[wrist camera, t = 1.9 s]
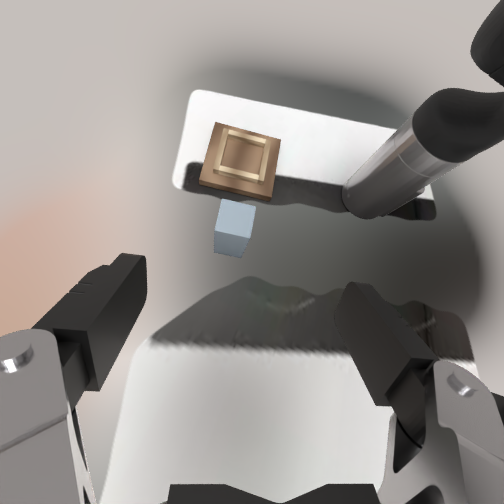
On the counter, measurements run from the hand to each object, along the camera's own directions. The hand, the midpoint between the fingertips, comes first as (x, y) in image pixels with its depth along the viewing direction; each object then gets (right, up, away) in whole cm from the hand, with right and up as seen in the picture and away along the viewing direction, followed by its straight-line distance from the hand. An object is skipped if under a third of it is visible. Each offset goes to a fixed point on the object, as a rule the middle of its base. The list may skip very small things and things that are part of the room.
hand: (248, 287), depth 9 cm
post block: (-4, +3, +30) cm, 31 cm away
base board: (-2, +18, +35) cm, 40 cm away
